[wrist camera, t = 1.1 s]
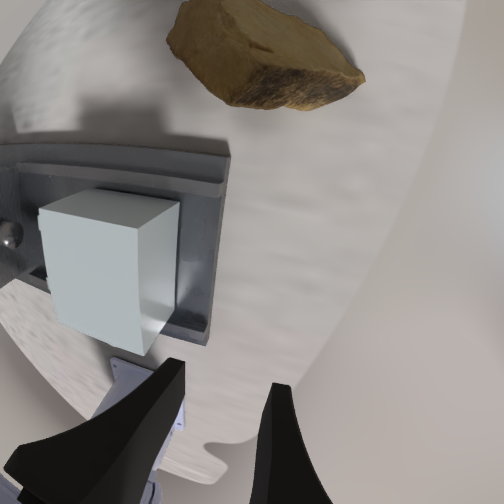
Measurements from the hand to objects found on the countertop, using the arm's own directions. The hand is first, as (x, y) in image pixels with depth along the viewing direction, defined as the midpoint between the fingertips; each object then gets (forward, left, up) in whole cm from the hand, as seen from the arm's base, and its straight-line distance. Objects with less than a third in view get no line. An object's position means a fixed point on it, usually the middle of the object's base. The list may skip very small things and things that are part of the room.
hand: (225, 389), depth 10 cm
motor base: (0, +15, -10) cm, 19 cm away
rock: (+14, +2, -11) cm, 18 cm away
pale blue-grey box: (-1, +10, -9) cm, 14 cm away
